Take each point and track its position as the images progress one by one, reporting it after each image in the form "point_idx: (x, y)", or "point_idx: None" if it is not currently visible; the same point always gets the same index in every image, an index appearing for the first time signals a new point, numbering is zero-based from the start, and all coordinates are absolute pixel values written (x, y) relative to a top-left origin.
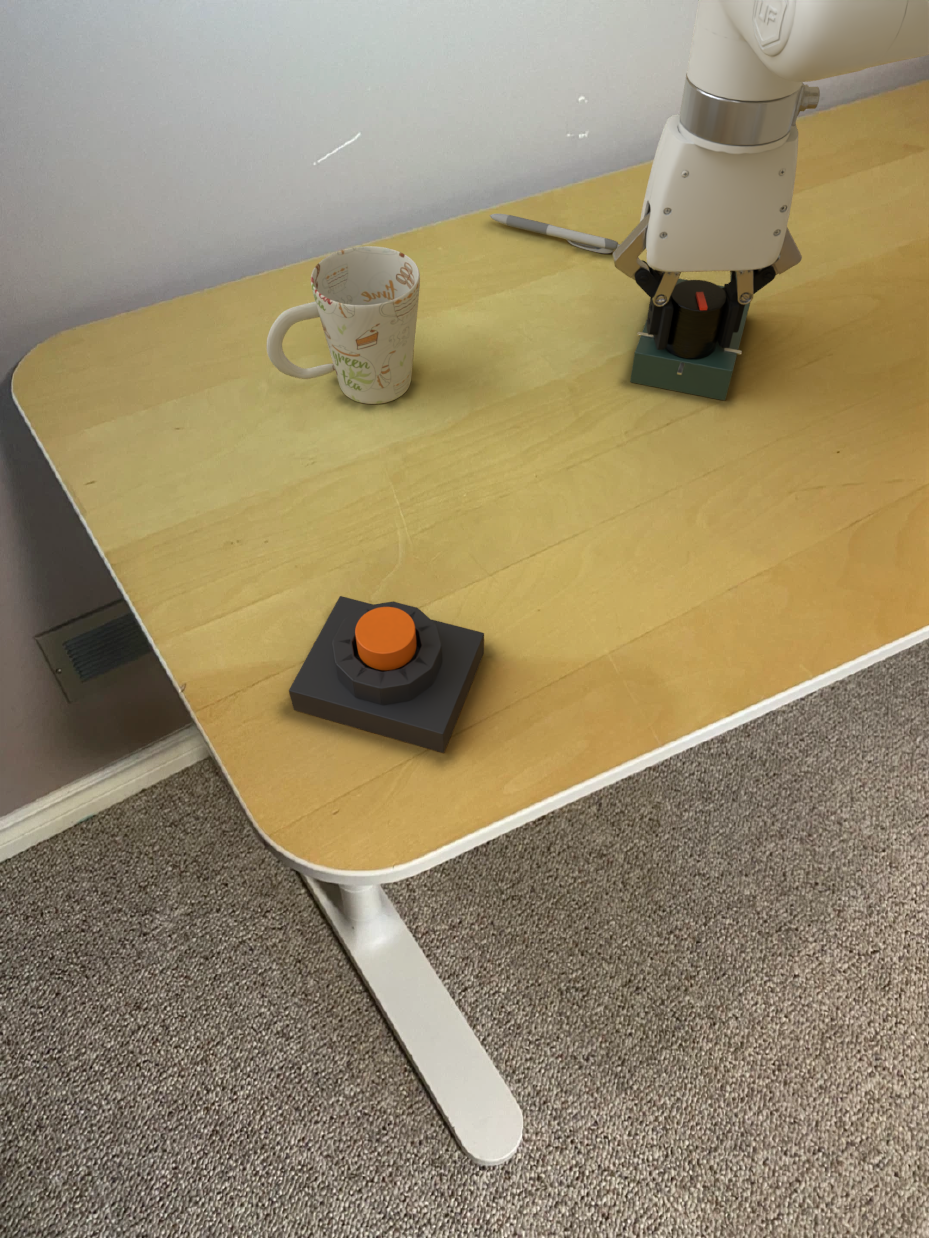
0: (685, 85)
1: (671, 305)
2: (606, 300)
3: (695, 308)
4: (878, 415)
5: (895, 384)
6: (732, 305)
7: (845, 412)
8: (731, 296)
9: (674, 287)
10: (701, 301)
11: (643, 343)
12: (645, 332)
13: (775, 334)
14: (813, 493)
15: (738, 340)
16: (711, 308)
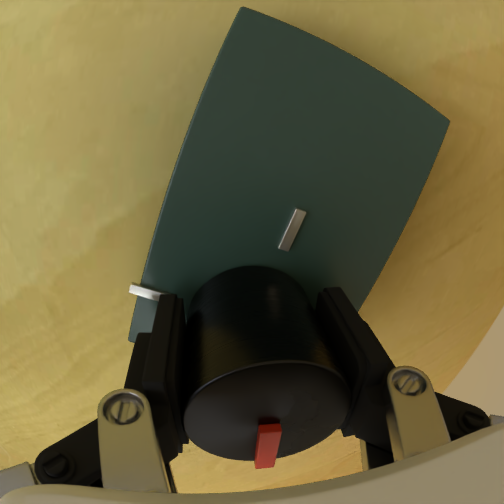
0: None
1: (183, 439)
2: (116, 15)
3: (244, 457)
4: (458, 340)
5: (500, 288)
6: (345, 431)
7: (433, 341)
8: (353, 429)
9: (195, 401)
10: (264, 456)
11: (145, 316)
12: (150, 277)
13: (439, 166)
14: (336, 439)
15: (359, 303)
16: (286, 454)
